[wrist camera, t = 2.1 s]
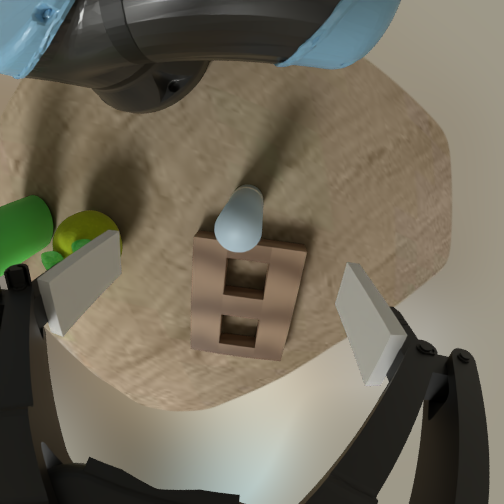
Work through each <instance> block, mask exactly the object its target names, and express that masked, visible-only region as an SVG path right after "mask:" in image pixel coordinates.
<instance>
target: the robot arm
mask: <svg viewBox="0 0 504 504" xmlns="http://www.w3.org/2000/svg"><path fill="white" fill-rule="evenodd" d="M400 1H401V0H0V73H1V74H5V75H10V76H13V77H14V78H15V79H20V78H33V79H41V80H48V81H54V82H60V83H66V84H72V85H77V86H82V87H87V88H92V89H93V90H94V92H95V93H96V94H97V95H99V97H100V98H101V99H102V100H103V101H104V102H105V103H106V104H108V105H109V106H111V107H113V108H115V109H117V110H121V111H125V112H131V113H151V112H156V111H159V110H162V109H165V108H167V107H169V106H171V105H173V104H175V103H176V102H178V101H179V100H181V99H182V98H183V97H185V96H186V95H187V94H188V93H189V92H190V91H191V90H192V89H193V88H194V87H195V86H196V85H197V83H198V82H199V81H200V79H201V78H202V76H203V74H204V73H205V71H206V69H207V66H208V63H209V60H222V61H246V62H260V63H271V64H274V65H275V66H278V67H286V66H289V65H299V66H308V67H316V68H323V69H340V68H344V67H346V66H349V65H351V64H353V63H354V62H356V61H357V60H360V59H361V58H362V57H364V56H365V55H366V54H367V53H368V52H369V51H370V50H371V49H372V48H373V47H374V46H375V45H376V43H377V42H378V41H379V40H380V38H381V37H382V36H383V34H384V33H385V31H386V29H387V28H388V26H389V25H390V23H391V21H392V19H393V17H394V15H395V13H396V11H397V9H398V6H399V4H400ZM121 274H122V271H121V257H120V236H119V231H115V230H107V231H106V232H104V233H103V234H101V235H99V236H98V237H96V238H95V239H93V240H92V241H90V242H89V243H87V244H86V245H84V246H83V247H81V248H80V249H78V250H77V251H75V252H74V253H72V254H71V255H69V256H68V257H67V258H65V259H64V260H62V261H61V262H59V263H57V264H55V265H54V266H52V267H51V268H50V269H48V270H47V271H45V273H43V274H41V275H40V276H39V277H37V278H36V279H35V280H33V281H32V282H31V278H30V273H29V268H28V266H27V265H26V264H15V265H12V266H10V267H8V268H7V269H6V270H5V271H4V275H5V279H6V283H7V287H8V290H4V289H1V287H0V504H244V503H241V502H239V495H235V494H226V493H218V492H211V491H204V490H161V489H156V488H154V487H152V486H149V485H148V484H146V483H144V482H142V481H140V480H139V479H137V478H135V477H133V476H132V475H130V474H128V473H126V472H125V471H123V470H122V469H119V468H116V467H113V466H111V465H108V464H105V463H103V462H100V461H97V460H96V459H93V458H91V457H89V459H88V461H87V463H86V464H84V463H73V462H72V460H71V459H70V457H69V455H68V453H67V450H66V447H65V443H64V440H63V436H62V433H61V429H60V424H59V420H58V416H57V412H56V407H55V402H54V397H53V391H52V385H51V379H50V372H49V364H48V355H47V345H46V332H45V329H44V325H45V324H46V323H47V322H48V323H49V327H50V330H51V332H52V333H55V334H57V335H60V336H64V335H65V334H66V333H67V331H68V330H69V329H70V328H71V327H72V326H73V325H74V324H75V322H76V321H77V320H78V319H79V318H80V317H81V316H82V315H83V314H84V312H85V311H86V310H87V309H88V308H89V307H90V306H91V305H92V304H93V303H94V302H95V301H96V299H97V298H98V297H99V296H100V295H101V294H102V293H103V292H104V291H105V290H106V289H107V288H108V287H109V286H110V285H111V284H112V283H113V282H114V281H115V280H116V279H117V278H118V277H119V276H120V275H121ZM335 305H336V308H337V310H338V313H339V316H340V318H341V321H342V323H343V326H344V329H345V331H346V334H347V337H348V339H349V342H350V345H351V348H352V350H353V353H354V356H355V359H356V361H357V364H358V367H359V370H360V373H361V376H362V379H363V382H364V385H365V386H378V385H381V384H382V382H383V380H384V378H385V377H386V376H387V378H388V380H389V383H388V385H387V387H386V388H385V390H384V392H383V393H382V395H381V396H380V398H379V400H378V402H377V403H376V405H375V407H374V408H373V410H372V412H371V413H370V414H369V416H368V418H367V419H366V421H365V422H364V424H363V425H362V427H361V428H360V430H359V431H358V432H357V434H356V436H355V437H354V438H353V440H352V441H351V442H350V444H349V445H348V446H347V448H346V449H345V450H344V452H343V453H342V454H341V456H340V457H339V458H338V459H337V461H336V462H335V463H334V464H333V466H332V467H331V468H330V469H329V471H328V472H327V473H326V474H325V475H324V477H323V478H322V479H321V480H320V481H319V482H318V483H317V485H316V486H315V487H314V488H313V489H312V490H311V491H310V492H309V493H308V494H307V495H306V497H305V498H304V499H303V500H302V501H301V502H300V503H299V504H377V503H378V500H377V499H376V497H377V494H378V493H379V491H380V489H381V488H382V486H383V484H384V483H385V481H386V479H387V478H388V476H389V474H390V472H391V470H392V469H393V467H394V465H395V463H396V461H397V459H398V457H399V455H400V453H401V451H402V449H403V447H404V445H405V443H406V441H407V438H408V436H409V434H410V432H411V429H412V427H413V425H414V422H415V420H416V417H417V415H418V413H419V410H420V408H421V405H422V402H423V400H424V404H423V419H422V430H421V441H420V448H419V455H418V462H417V468H416V474H415V479H414V484H413V489H412V493H411V497H410V501H409V504H488V499H489V445H488V433H487V423H486V416H485V408H484V402H483V396H482V390H481V385H480V381H479V375H478V371H477V367H476V363H475V360H474V358H473V356H472V355H471V354H470V353H469V352H468V351H466V350H463V349H459V348H457V349H454V350H453V351H452V352H451V354H450V356H449V357H446V356H442V355H437V350H436V348H435V347H434V346H432V344H430V343H428V342H426V341H424V340H418V339H417V337H416V335H415V334H414V333H413V331H412V329H411V328H410V326H409V325H408V323H407V322H406V321H405V319H404V318H403V316H402V315H401V313H400V312H399V311H397V310H396V309H395V308H394V307H389V306H388V304H387V303H386V301H385V300H384V298H383V297H382V295H381V294H380V292H379V291H378V289H377V288H376V287H375V285H374V284H373V282H372V281H371V279H370V278H369V277H368V275H367V274H366V272H365V271H364V270H363V268H362V267H361V265H360V264H358V263H351V262H347V264H346V268H345V272H344V275H343V279H342V282H341V286H340V289H339V292H338V296H337V299H336V302H335Z"/></svg>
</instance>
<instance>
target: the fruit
mask: <svg viewBox="0 0 504 504" xmlns="http://www.w3.org/2000/svg"><path fill="white" fill-rule="evenodd" d="M107 230H115V231H119V230H118V228H117V226H116V224H115V223H114V221H113V220H112V219H111V218H109V217H108V216H106V215H105V214H103V213H101V212H98V211H93V210H88V211H83V212H79V213H76V214H74V215H72V216H70V217H68V218H67V219H65V220H64V221H63V222H62V223H61V224H60V225H59V226H58V228H57V230H56V232H55V234H54V237H53V251H50V252H45V253H42V255H41V258H42V263H43V265H44V267H45V268H46V270H48V269H50V268H51V267H52V266H54V265H55V264H57V263H59V262H61V261H62V260H64V259H65V258H67V257H68V256H69V255H71V254H72V253H74V252H75V251H77V250H78V249H80V248H81V247H83V246H84V245H86V244H87V243H89V242H90V241H92V240H93V239H95V238H96V237H98V236H99V235H101V234H103V233H104V232H106V231H107ZM119 236H120V233H119ZM121 254H122V240H121V236H120V257H121Z"/></svg>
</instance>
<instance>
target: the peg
mask: <svg viewBox="0 0 504 504" xmlns="http://www.w3.org/2000/svg"><path fill="white" fill-rule="evenodd" d="M263 205H264V203H263V195H262V193H261V191H260V190H259V189H258V188H257V187H255V186H253V185H242V186H240V187H238V188H237V189H236V190H235V192H234V193H233V194H232V195H231V197H230V199H229V201H228V202H227V204H226V206H225V207H224V209H223V210H222V212H221V213H220V215H219V217H218V218H217V220H216V223H215V229H214V230H215V236H216V238H217V240H218V242H219V243H220V244H221V245H222V246H223V247H224V248H225V249H227V250H229V251H232V252H238V253H239V252H246V251H248V250H251V249H252V248H254V247H255V246H256V245H257V244H258V242H259V240H260V238H261V235H262V219H263Z"/></svg>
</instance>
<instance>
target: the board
mask: <svg viewBox="0 0 504 504" xmlns="http://www.w3.org/2000/svg"><path fill="white" fill-rule="evenodd" d="M306 254H307V251H306V248H305V246H304V245H303V244H296V243H289V242H282V241H275V240H268V239H261V238H260V240H259V242H258V244H257V245H256V246H255V247H254V248H252V249H251V250H248V251H246V252H239V253H238V252H232V251H229V250H227V249H225V248H224V247H223V246H222V245H221V244H220V243H219V242H218V240H217V238H216V236H215V232H208V231H201V230H198V232H197V233H196V234H195V236H194V242H193V262H192V288H191V349H194V350H200V351H206V352H212V353H218V354H225V355H232V356H239V357H247V358H255V359H264V360H274V361H281V357H282V354H283V350H284V346H285V342H286V339H287V335H288V331H289V327H290V323H291V319H292V315H293V311H294V307H295V302H296V298H297V294H298V290H299V285H300V281H301V277H302V272H303V268H304V263H305V258H306ZM228 258H233V259H240V260H248V261H255V262H263V263H268V267H267V273H266V279H265V285H264V290H258V289H250V288H243V287H236V286H229V285H226V276H227V266H228ZM223 315H229V316H236V317H243V318H251V319H258V325H257V331H256V336H255V337H251V336H243V335H236V334H229V333H222V332H221V330H222V318H223Z"/></svg>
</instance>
